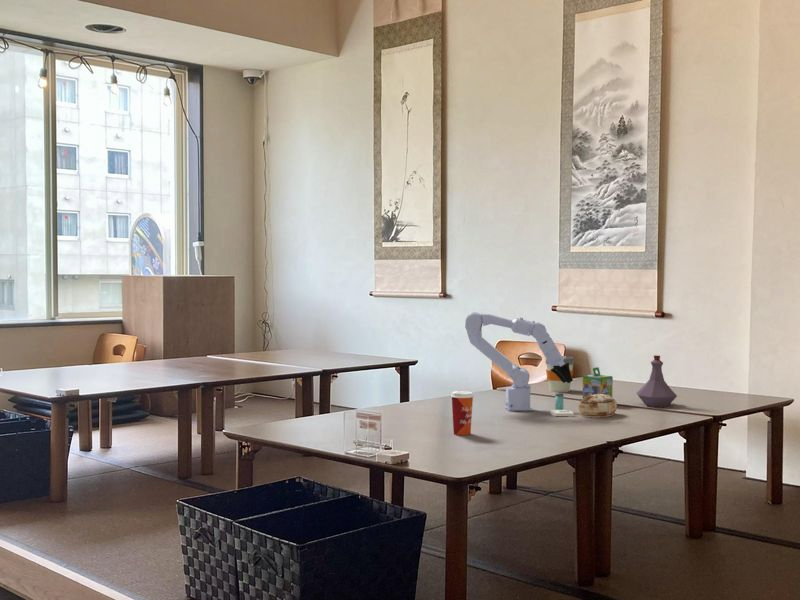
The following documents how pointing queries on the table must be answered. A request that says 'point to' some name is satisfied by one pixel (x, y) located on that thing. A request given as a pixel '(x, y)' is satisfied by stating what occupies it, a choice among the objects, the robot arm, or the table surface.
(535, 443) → the table surface
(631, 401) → the table surface
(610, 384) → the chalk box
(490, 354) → the robot arm
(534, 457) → the table surface
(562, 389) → the reusable coffee cup
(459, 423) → the paper cup
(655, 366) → the flask
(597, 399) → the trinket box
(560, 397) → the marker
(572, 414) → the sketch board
